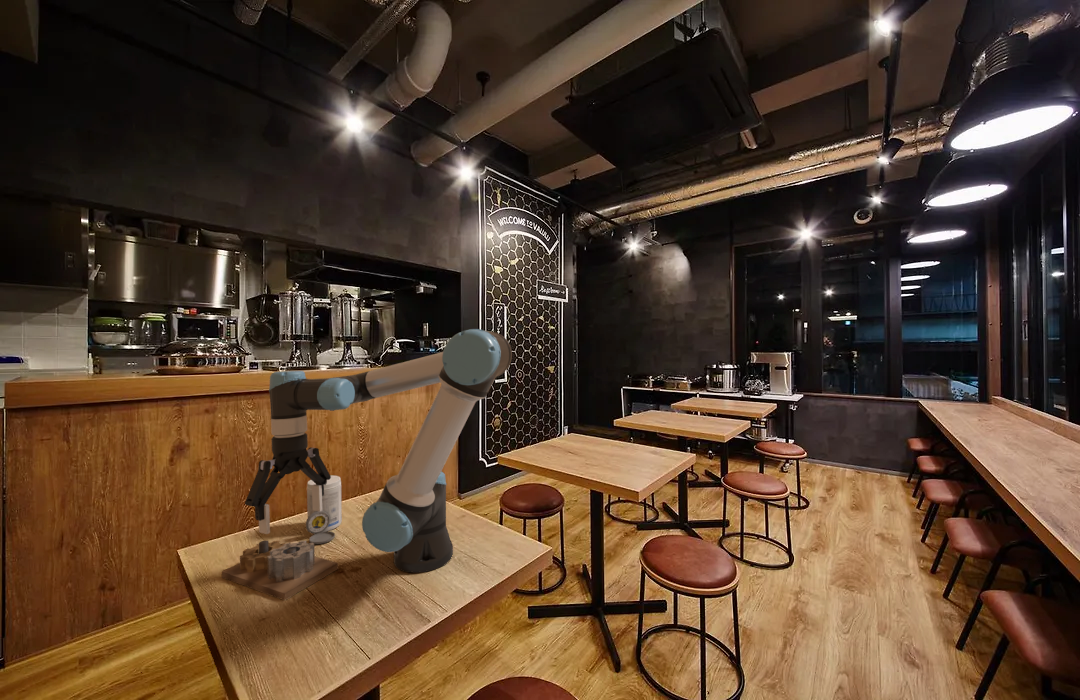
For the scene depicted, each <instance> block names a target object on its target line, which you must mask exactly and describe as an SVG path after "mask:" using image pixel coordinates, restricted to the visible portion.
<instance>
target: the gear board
mask: <svg viewBox="0 0 1080 700" xmlns="http://www.w3.org/2000/svg"><path fill="white" fill-rule="evenodd" d="M283 544H286V542H282V543H281V542H280V540H272V542H269V540H265V539H264V540H262V541H260V542H258V543H257V544H256V545H255V546H253V547H251V548H246V549H244V550H243V551H242V554H240V555H239V563H237V564H234V565H233V566H230V567H228V568H226V569H223V570H221V578H222V579H225V580H228V581H232V582H234V583H236V584H239V585H242V586H244V587H247V588H250V589H252V590H255V591H258V592H261V593H264V594H267V595H269V596H272V597H275V598H278V599H281V600H282V601H286V600H287V599H289V598H291V597H293V596H295V594H296V595H297V594H298V593H300V592H301V591H303V590H305V589H307V588H308V587H310V586H311V585H313V584H315V583H317V582H318V581H320V580H322V579H323V578H325V577H326V576H328V575H330V574H331V573H333V572H335V571H337V570H339V562H336V561H333V560H329V559H325V558H322V557H319V556H315V564H313V570H312V571H311V572H306V573H304V574H302V575H301V577H300V578H297V579H293V578H291V579H286V580H283V581H282V582H276V579H275V578H272V579H269V578H268V560H267V556H270V551H271V550H273V549H278V548H280V547H282V546H283ZM295 552H296V548H292V549H289V550H287V554H291V553H295Z"/></svg>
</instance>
